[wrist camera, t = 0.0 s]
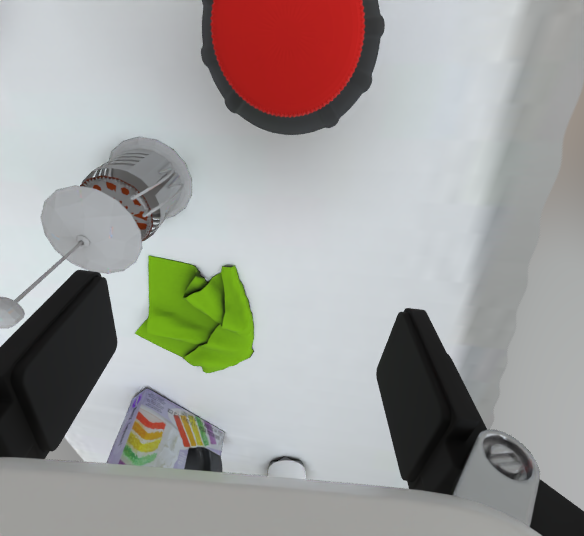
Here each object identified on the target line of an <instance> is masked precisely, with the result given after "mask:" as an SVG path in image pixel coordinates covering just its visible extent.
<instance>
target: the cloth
mask: <svg viewBox="0 0 584 536" xmlns="http://www.w3.org/2000/svg"><path fill="white" fill-rule="evenodd" d="M148 268H149V316H148V319H147V320H146V321H145V322H144V323H143V324H142V325H141V326H140V328H139V329H138V330H137V331H136V333H135V334H137V335H139V336H140V337H142V338H144V339H146V340H148V341H150V342H152V343H154V344H156V345H158V346H160V347H162V348H164V349H166V350H168V351H170V352H172V353H175V354H177V355H179V356H181V357H183V358H184V359H185V360H186V361H187V362H188V363H190V364H191V365H193V366H201V367H202V369H203V372H206V373H211V372H215V371H219V370H223V369H225V368H227V367H229V366H234V365H236V364H238V363H239V362H241V361H243V360H246V359H248V358H250V357H251V355H252V354H253V352H254V351H253V349H252V343H253V339H254V324H253V317H252V312H251V310H250V306H249V301H248V298H247V297H246V295H245V291H244V288H243V285H242V283H241V281H240V280H239V278H238V274H237V271H236V267H235V266H233V267H223V266H222V270H221V273H219V274H217V275H216V276H214V277H213V278H211V280H210V282H209V283H207V282H206V281H205V278H203V277H201V276H200V272H199V271H198V270H197V268H196V267H195V266H193V265H190V264H187V263H182V262H178V261H173V260H168V259H163V258H158V257H153V256H149V264H148Z"/></svg>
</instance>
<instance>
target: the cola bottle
mask: <svg viewBox="0 0 584 536" xmlns="http://www.w3.org/2000/svg"><path fill="white" fill-rule="evenodd" d="M202 2H203V17H202V38H203V47H202V49H201V56H202V60H203V62H204V64H205V65H206V66H207V67H208V68H209V71H210V73H211V75H212V78H213V80H214V82H215V84H216V86H217V88H218V89H219V91H220V93H221V94H222V96H223V97H224V99H225V104H226V106H227V108H228V109H229V110H230V111H231V112H233V113H237V114H239V115H240V116H241V117H243V118H244V119H245V120H247V121H248V122H250V123H252V124H253V125H255V126H257V127H259V128H261V129H264V130H266V131H269V132H273V133H277V134H284V135H298V134H305V133H310V132H313V131H317V130H319V129H322V128H331V127H333V126H335V125H336V124H337V123H338V121H339V118H340V117H341V116H343V115H344V114H345V113H346V112H347V111H348V110H349V109H350V108H351V107H352V106H353V104H354V103H355V102H356V101H357V100H358V98H359V97H360V96H361V94H362V93H364V92H366V91H367V90H368V89H369V87H370V85H371V83H372V72H373V69H374V66H375V63H376V59H377V55H378V50H379V44H380V38H381V36H382V34H383V32H384V26H385V25H384V19H383V17H382V16H381V15H380V10H379V5H378V0H202Z"/></svg>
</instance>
